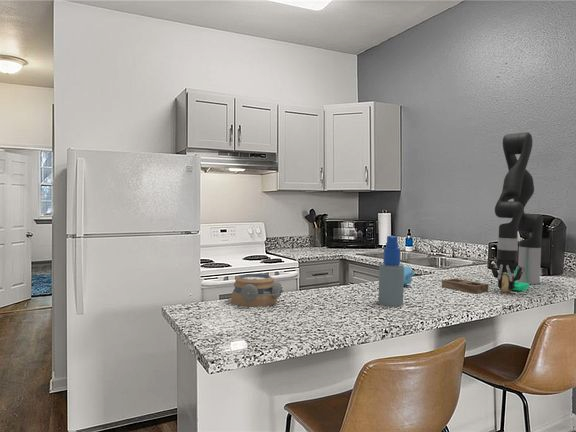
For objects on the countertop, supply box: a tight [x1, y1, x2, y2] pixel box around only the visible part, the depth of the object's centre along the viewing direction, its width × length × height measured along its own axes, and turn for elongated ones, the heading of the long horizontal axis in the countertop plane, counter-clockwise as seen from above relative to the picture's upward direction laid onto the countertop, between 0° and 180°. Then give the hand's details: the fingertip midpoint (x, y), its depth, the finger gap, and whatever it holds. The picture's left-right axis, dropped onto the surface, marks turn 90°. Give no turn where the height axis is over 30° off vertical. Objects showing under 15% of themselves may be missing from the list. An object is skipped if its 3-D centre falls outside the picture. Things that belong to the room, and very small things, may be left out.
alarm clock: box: [230, 273, 285, 308], centre depth 152 cm, size 17×9×23 cm
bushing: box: [500, 273, 512, 295], centre depth 177 cm, size 4×4×8 cm
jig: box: [441, 277, 489, 295], centre depth 184 cm, size 10×16×3 cm, turn 36°
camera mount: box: [505, 268, 531, 292], centre depth 186 cm, size 12×8×10 cm, turn 129°
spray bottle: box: [377, 235, 405, 308], centre depth 155 cm, size 9×9×25 cm
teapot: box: [381, 262, 416, 287], centre depth 190 cm, size 18×14×10 cm
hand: (505, 289), depth 177 cm, fingers closed on bushing, 3 cm apart
